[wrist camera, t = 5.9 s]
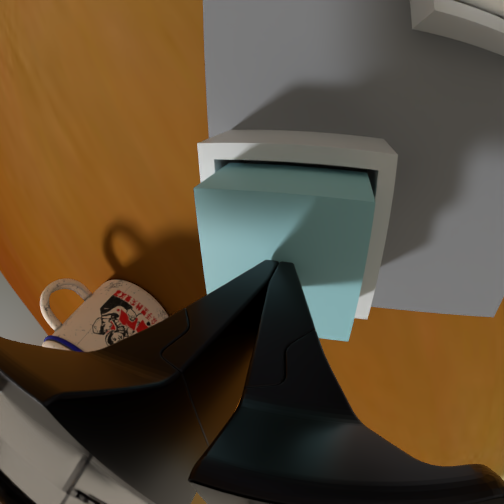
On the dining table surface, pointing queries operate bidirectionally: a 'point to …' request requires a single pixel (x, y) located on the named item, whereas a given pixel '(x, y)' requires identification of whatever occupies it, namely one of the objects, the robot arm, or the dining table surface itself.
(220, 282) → the teal key
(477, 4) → the cream key
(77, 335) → the teacup with lid
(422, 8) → the grey rectangular board
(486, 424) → the dining table surface
